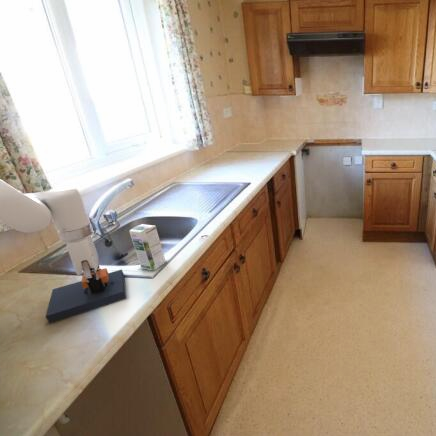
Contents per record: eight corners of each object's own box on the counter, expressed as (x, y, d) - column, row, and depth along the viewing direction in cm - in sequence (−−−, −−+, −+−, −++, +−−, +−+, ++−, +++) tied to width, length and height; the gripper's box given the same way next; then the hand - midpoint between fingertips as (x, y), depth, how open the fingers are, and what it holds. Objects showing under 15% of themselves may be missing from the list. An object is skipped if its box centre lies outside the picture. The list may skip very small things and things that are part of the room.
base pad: (49, 323, 86) (45, 316, 85) (55, 295, 97) (52, 289, 96) (126, 298, 94) (123, 291, 93) (124, 275, 105) (121, 269, 104)
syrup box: (140, 269, 108) (127, 230, 102) (153, 259, 113) (142, 222, 107) (154, 271, 107) (141, 232, 101) (167, 261, 112) (155, 224, 106)
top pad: (86, 295, 92) (81, 282, 91) (87, 286, 96) (82, 274, 95) (110, 288, 95) (106, 275, 93) (110, 280, 99) (106, 268, 97)
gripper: (62, 224, 93) (85, 276, 100) (55, 248, 80) (81, 306, 87) (93, 218, 96) (112, 269, 104) (91, 240, 83) (113, 296, 91)
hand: (98, 285), depth 96 cm, fingers closed on top pad, 5 cm apart
